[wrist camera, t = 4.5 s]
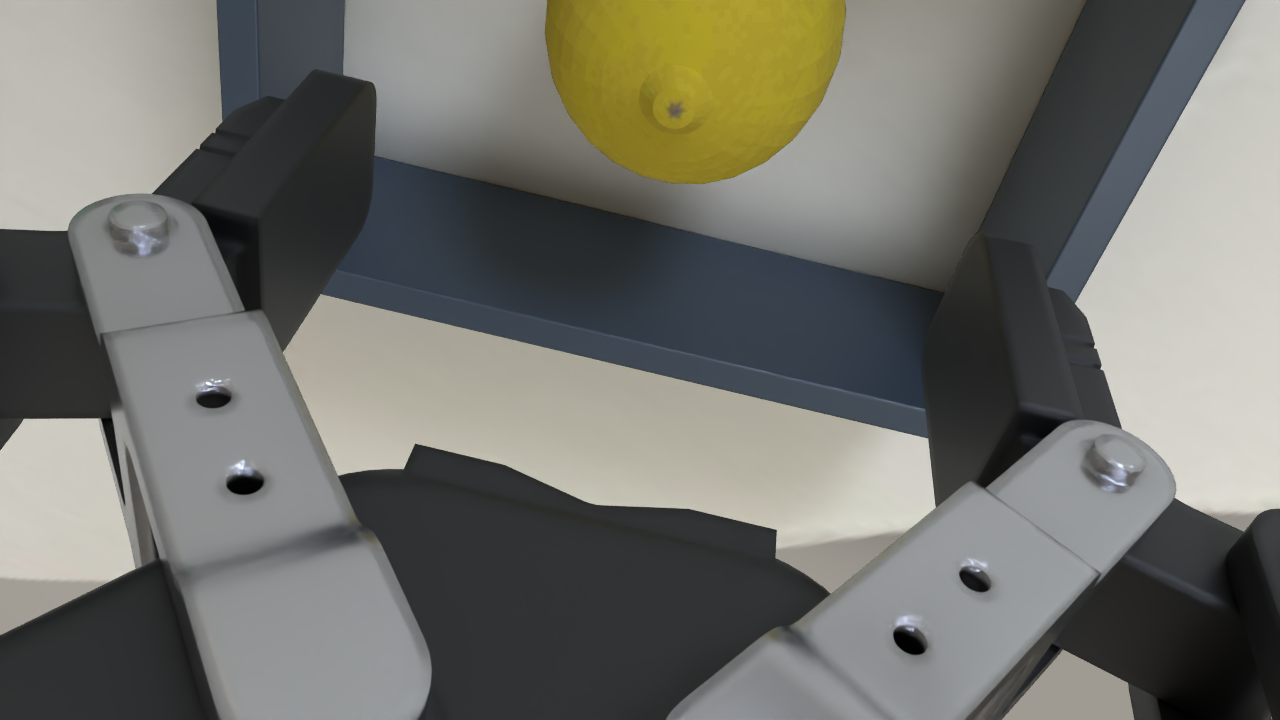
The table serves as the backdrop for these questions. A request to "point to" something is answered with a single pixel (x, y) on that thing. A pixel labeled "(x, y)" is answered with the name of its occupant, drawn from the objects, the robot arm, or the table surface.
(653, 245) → the rectangular frame
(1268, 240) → the table surface
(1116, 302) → the table surface
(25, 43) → the table surface
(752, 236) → the table surface
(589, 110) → the lemon
